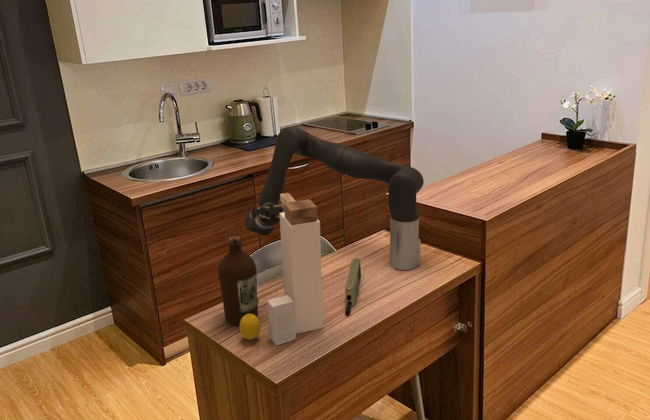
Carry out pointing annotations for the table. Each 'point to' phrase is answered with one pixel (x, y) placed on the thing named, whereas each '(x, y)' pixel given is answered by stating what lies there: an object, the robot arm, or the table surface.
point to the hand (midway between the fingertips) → (278, 207)
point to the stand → (303, 272)
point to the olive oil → (238, 283)
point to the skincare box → (281, 319)
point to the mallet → (298, 210)
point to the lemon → (249, 326)
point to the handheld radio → (352, 284)
